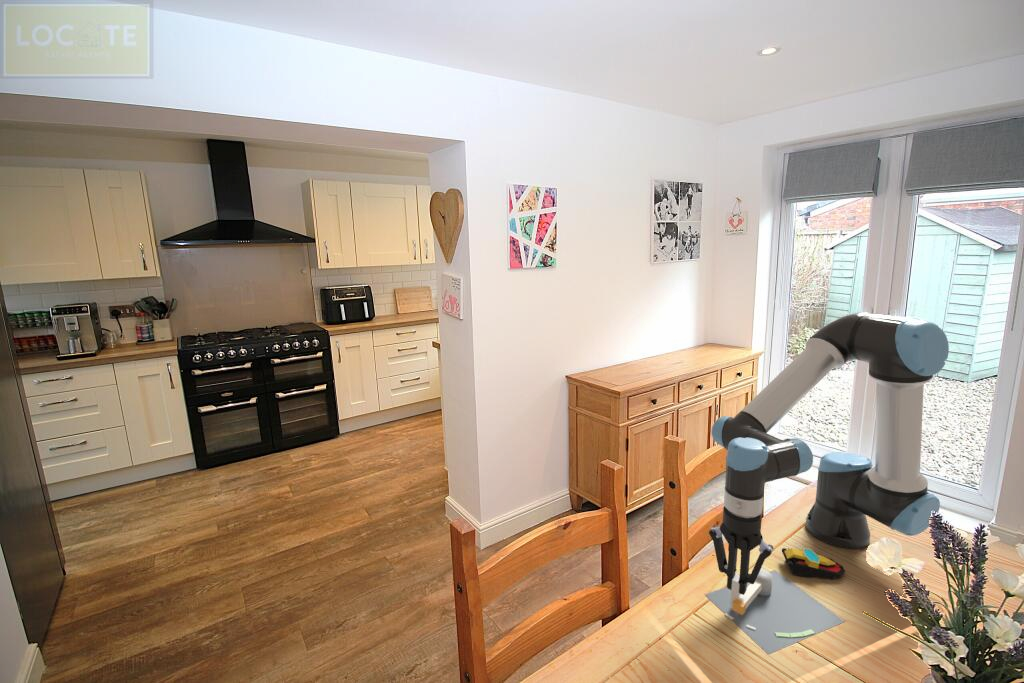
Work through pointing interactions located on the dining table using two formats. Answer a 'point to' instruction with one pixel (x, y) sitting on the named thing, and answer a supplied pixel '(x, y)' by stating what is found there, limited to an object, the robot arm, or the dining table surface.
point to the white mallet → (754, 591)
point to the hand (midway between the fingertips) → (735, 602)
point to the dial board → (778, 614)
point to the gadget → (811, 564)
